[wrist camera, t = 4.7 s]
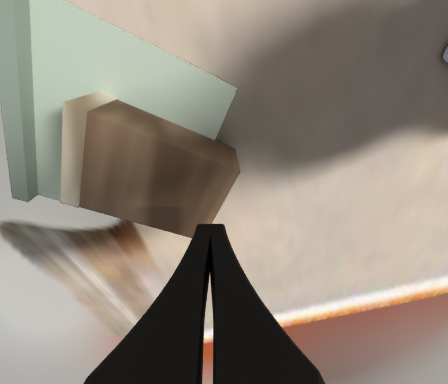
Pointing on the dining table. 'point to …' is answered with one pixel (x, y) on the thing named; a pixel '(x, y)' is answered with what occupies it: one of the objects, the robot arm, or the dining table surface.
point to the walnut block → (141, 166)
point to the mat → (86, 84)
